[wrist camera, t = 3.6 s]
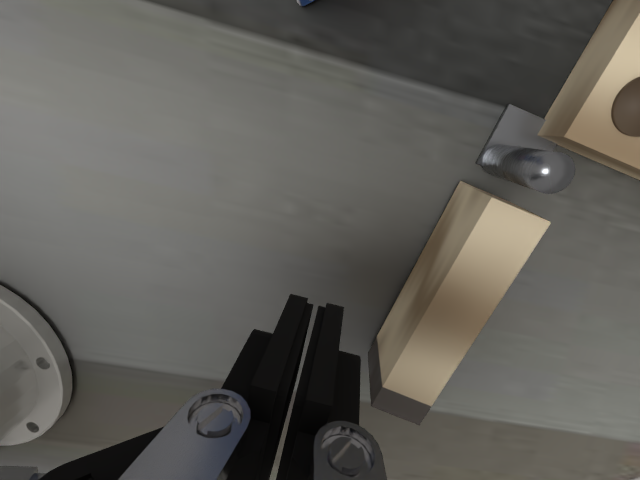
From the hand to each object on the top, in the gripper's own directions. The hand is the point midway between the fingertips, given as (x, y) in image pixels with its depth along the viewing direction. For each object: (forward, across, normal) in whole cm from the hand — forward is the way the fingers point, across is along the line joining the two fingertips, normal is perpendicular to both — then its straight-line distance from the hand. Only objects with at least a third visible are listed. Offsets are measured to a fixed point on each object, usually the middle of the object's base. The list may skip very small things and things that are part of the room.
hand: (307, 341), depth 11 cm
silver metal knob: (+9, -6, -6) cm, 13 cm away
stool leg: (+8, -5, +1) cm, 10 cm away
